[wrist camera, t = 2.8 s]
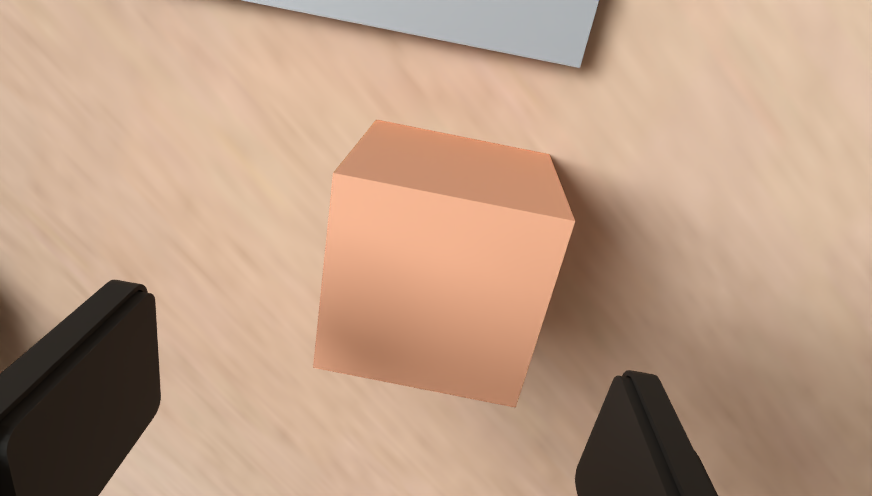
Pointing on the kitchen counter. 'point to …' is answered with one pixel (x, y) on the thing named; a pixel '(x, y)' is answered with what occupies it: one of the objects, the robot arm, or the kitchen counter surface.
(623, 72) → the kitchen counter surface
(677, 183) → the kitchen counter surface
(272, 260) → the kitchen counter surface
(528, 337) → the terracotta cube
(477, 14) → the board
